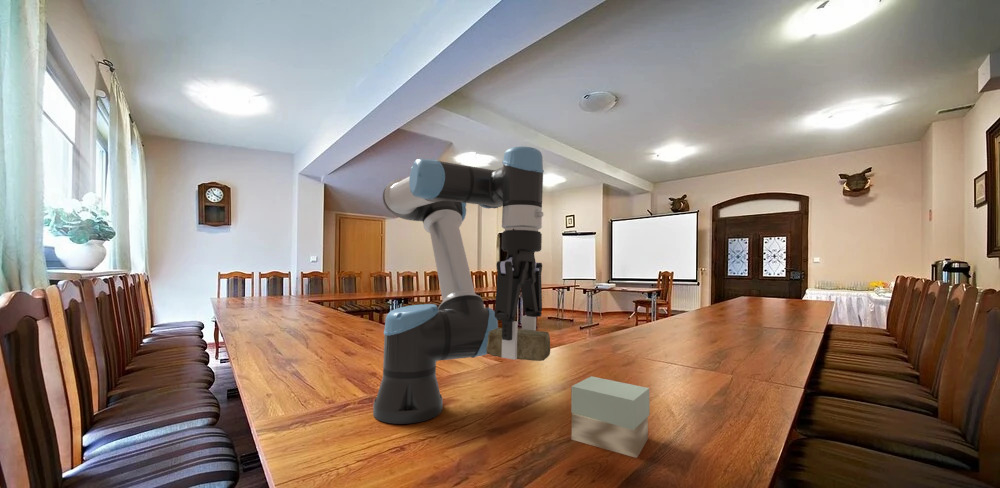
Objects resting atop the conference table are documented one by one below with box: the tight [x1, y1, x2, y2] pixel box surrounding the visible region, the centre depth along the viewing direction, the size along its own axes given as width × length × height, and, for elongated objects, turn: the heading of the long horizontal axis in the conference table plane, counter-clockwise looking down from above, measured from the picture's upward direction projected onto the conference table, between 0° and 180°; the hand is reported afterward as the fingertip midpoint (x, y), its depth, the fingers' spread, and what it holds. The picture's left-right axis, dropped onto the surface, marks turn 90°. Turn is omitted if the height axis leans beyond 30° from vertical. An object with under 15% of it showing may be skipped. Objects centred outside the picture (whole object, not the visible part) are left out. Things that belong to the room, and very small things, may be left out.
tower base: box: [571, 413, 649, 459], centre depth 71 cm, size 12×9×5 cm
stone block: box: [486, 327, 551, 362], centre depth 69 cm, size 6×12×5 cm, turn 73°
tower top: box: [570, 375, 651, 430], centre depth 71 cm, size 12×9×5 cm
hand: (519, 353), depth 68 cm, fingers closed on stone block, 7 cm apart
